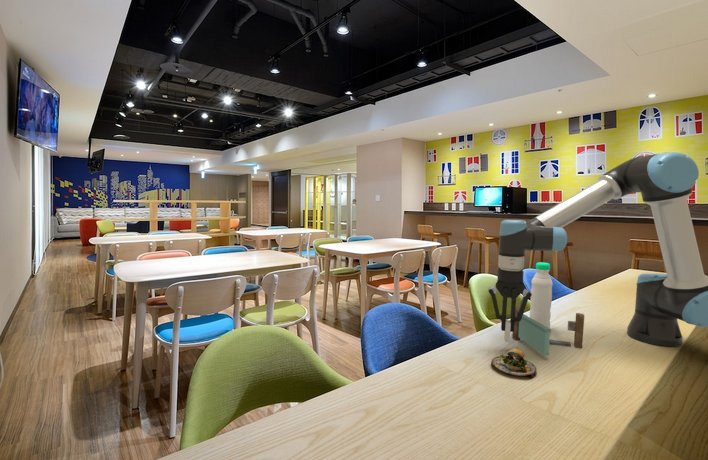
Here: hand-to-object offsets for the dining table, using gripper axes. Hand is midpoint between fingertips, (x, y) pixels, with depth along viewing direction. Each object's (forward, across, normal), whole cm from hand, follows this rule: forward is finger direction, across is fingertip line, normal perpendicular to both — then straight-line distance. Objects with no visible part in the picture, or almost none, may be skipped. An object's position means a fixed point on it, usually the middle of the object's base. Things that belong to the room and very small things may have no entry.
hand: (506, 340), depth 118 cm
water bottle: (+3, +13, +25) cm, 28 cm away
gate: (+1, +8, +3) cm, 8 cm away
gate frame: (+3, +13, +12) cm, 18 cm away
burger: (+3, +1, -14) cm, 15 cm away
